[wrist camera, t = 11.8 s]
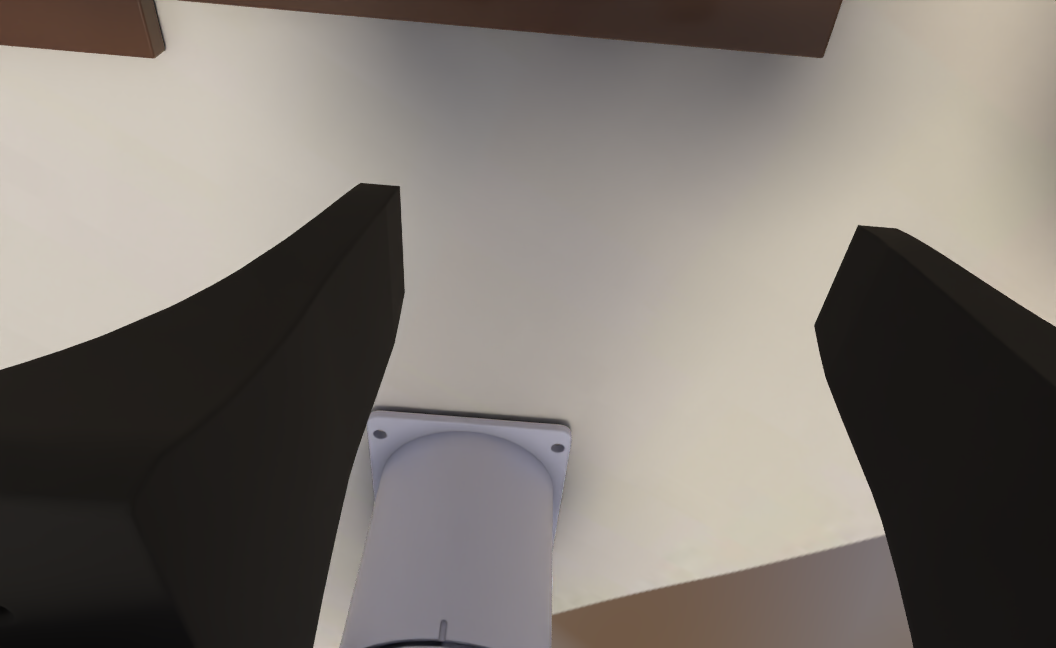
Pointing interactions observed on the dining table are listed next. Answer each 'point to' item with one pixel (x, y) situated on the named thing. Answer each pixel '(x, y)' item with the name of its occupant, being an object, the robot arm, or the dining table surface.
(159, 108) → the dining table surface
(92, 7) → the spatula
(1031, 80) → the dining table surface
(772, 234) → the dining table surface
